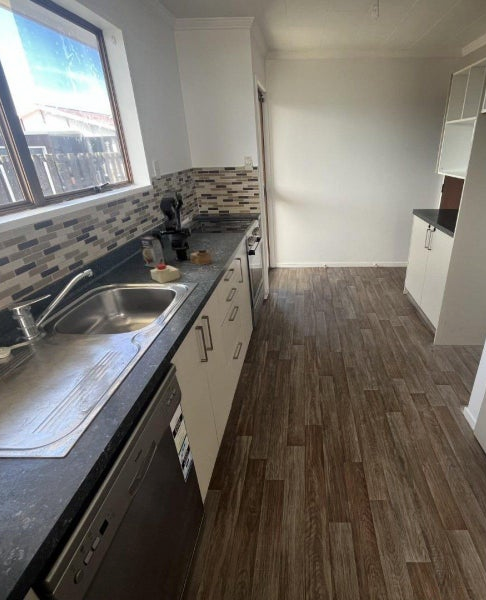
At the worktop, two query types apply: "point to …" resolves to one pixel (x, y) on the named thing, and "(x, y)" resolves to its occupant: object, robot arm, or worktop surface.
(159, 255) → the coffee box
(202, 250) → the knob
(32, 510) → the worktop surface
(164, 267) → the knob
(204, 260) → the oak block
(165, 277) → the cream block
